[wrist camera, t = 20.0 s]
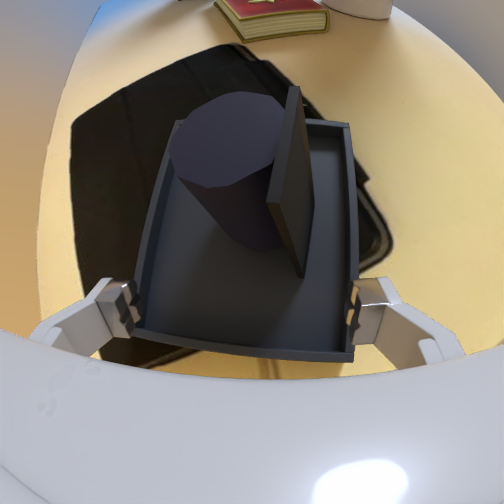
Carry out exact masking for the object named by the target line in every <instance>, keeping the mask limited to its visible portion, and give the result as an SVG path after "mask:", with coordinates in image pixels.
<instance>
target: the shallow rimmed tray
mask: <svg viewBox="0 0 504 504" xmlns="http://www.w3.org/2000/svg"><path fill="white" fill-rule="evenodd" d="M185 120H186V119H185ZM185 120H176V121H175V124H174V127H173V130H172V132H171V135H170V138H169V141H168V144H167V147H166V150H165V153H164V156H163V160H162V163H161V166H160V169H159V173H158V176H157V180H156V183H155V187H154V190H153V194H152V198H151V202H150V206H149V209H148V213H147V218H146V222H145V226H144V230H143V235H142V239H141V244H140V249H139V254H138V259H137V264H136V270H135V275H134V281H136V283H137V286H138V291H137V293H138V294H139V295H140V296H141V297H142V300H143V305H144V310H143V315H142V317H141V319H140V320H139V321H137V322H135V325H136V328H135V330H134V332H133V333H132V335H131V336H134V337H138V338H143V339H147V340H152V341H156V342H161V343H166V344H171V345H176V346H181V347H187V348H193V349H199V350H205V351H211V352H218V353H225V354H232V355H240V356H249V357H258V358H268V359H280V360H293V361H310V362H341V363H353V361H354V353H353V352H354V351H355V345H352V344H351V340H350V336H349V332H348V331H349V327H350V326H349V325H348V324H347V323H346V320H345V315H344V305H345V299H346V298H347V297H348V295H349V293H348V290H347V287H348V282H349V279H359V229H358V206H357V191H356V178H355V167H354V158H353V149H352V141H351V133H350V126H349V123H344V122H336V121H327V120H316V119H305V122H306V129H307V136H308V144H309V152H310V160H311V169H312V178H313V188H314V198H315V209H314V217H313V225H312V232H311V239H310V246H309V253H308V259H307V266H306V272H305V278H304V279H301V278H298V276H297V274H296V272H295V269H294V267H293V264H292V262H291V259H290V257H289V255H288V252H287V250H286V248H285V245H284V243H283V244H281V245H279V246H277V247H276V248H274V249H272V250H270V251H254V250H252V249H250V248H248V247H246V246H244V245H242V244H240V243H238V242H236V241H234V240H232V238H231V237H230V236H229V235H228V234H227V233H226V232H225V231H224V229H223V228H222V227H221V226H220V225H219V224H218V223H217V222H216V220H215V219H214V218H213V217H212V216H211V215H210V214H209V213H208V211H207V210H206V209H205V208H204V207H203V206H202V205H201V203H200V202H199V201H198V200H197V199H196V198H195V197H194V196H193V194H192V193H191V192H190V191H189V190H188V189H187V188H186V187H185V185H184V184H183V183H182V182H181V181H180V180H179V179H178V177H177V176H176V173H175V170H174V167H173V164H172V161H171V158H170V155H169V152H168V150H169V146H170V142H171V139H172V136H173V135H174V133H175V132H176V131H177V130H178V128H179V127H180V126H181V125H182V123H183V122H184V121H185Z"/></svg>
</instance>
